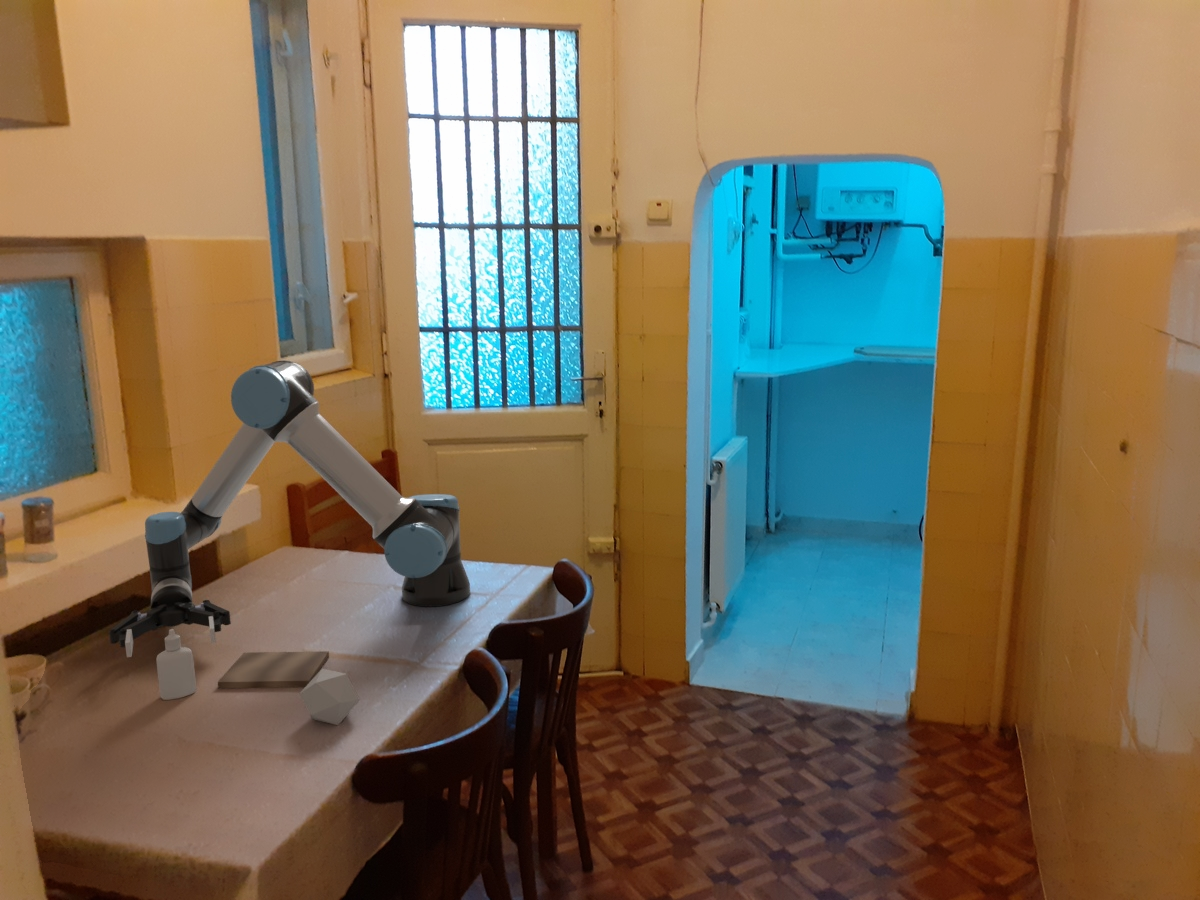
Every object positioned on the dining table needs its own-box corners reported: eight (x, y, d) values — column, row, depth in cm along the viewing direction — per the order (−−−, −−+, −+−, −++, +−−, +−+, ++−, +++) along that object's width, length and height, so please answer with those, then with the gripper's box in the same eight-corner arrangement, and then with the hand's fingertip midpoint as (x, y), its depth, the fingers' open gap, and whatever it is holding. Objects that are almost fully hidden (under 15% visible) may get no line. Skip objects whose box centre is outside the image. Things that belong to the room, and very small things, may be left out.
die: (370, 715, 145) (354, 660, 148) (352, 715, 137) (335, 657, 140) (324, 735, 145) (309, 679, 148) (303, 735, 136) (287, 676, 139)
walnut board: (329, 657, 165) (328, 651, 165) (309, 687, 154) (308, 680, 153) (244, 658, 165) (243, 652, 165) (218, 688, 153) (217, 682, 153)
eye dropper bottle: (167, 689, 153) (159, 625, 151) (200, 687, 154) (193, 623, 151) (156, 701, 149) (148, 635, 147) (190, 699, 149) (183, 634, 147)
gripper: (240, 609, 180) (248, 648, 162) (103, 631, 170) (94, 676, 151) (237, 575, 179) (244, 610, 160) (98, 595, 168) (88, 635, 150)
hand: (171, 642), depth 156 cm, fingers open, 13 cm apart
